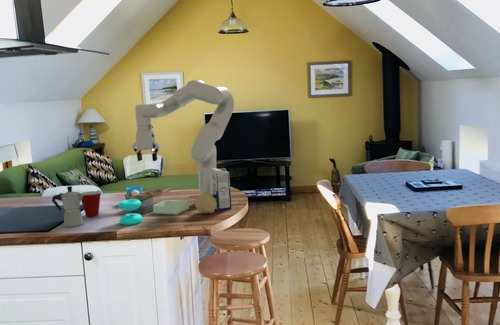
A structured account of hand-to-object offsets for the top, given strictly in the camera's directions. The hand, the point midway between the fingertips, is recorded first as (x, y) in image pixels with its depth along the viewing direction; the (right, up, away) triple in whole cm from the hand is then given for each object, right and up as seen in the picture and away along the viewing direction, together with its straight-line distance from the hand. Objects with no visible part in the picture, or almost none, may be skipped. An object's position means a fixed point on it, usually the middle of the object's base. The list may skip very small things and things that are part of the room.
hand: (147, 160), depth 265 cm
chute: (+4, -18, -11) cm, 21 cm away
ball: (-3, -17, -13) cm, 21 cm away
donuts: (0, -28, -37) cm, 46 cm away
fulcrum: (+2, -25, -14) cm, 28 cm away
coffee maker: (-28, -30, -35) cm, 54 cm away
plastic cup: (-23, -27, -20) cm, 41 cm away
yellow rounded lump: (+34, -25, -28) cm, 51 cm away
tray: (+16, -25, -20) cm, 36 cm away
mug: (-7, -22, +5) cm, 24 cm away
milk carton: (+41, -24, -21) cm, 51 cm away
